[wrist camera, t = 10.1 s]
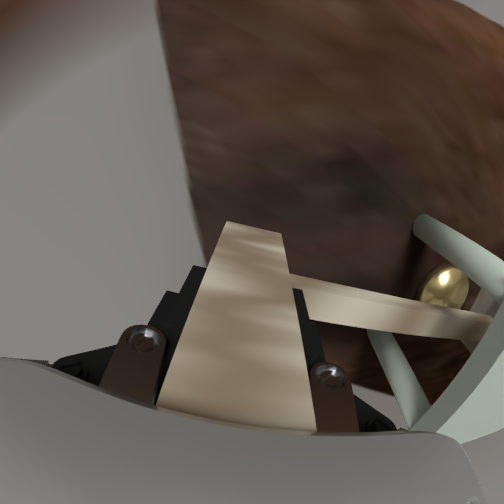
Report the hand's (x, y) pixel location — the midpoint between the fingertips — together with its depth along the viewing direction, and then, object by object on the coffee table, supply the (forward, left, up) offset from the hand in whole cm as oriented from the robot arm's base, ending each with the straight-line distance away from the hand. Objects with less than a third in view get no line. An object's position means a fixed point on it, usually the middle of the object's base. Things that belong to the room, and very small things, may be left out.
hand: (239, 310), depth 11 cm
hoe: (-9, 0, -5) cm, 10 cm away
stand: (-19, 0, -7) cm, 21 cm away
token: (-16, 0, -8) cm, 18 cm away
